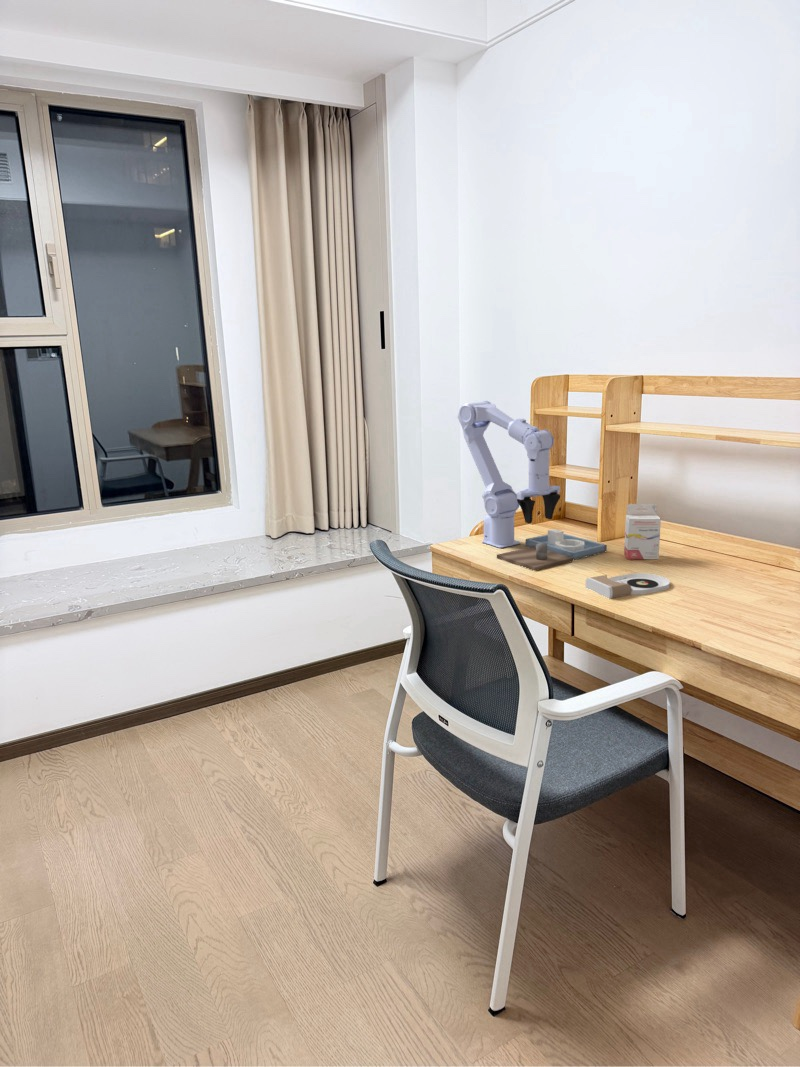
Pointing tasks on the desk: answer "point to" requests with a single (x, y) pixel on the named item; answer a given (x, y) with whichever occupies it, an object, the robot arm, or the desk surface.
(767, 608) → the desk surface
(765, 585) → the desk surface
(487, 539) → the robot arm
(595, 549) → the tray
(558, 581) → the desk surface
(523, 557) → the stake board
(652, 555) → the ink cartridge box
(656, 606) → the desk surface
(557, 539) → the ring
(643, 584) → the record player
